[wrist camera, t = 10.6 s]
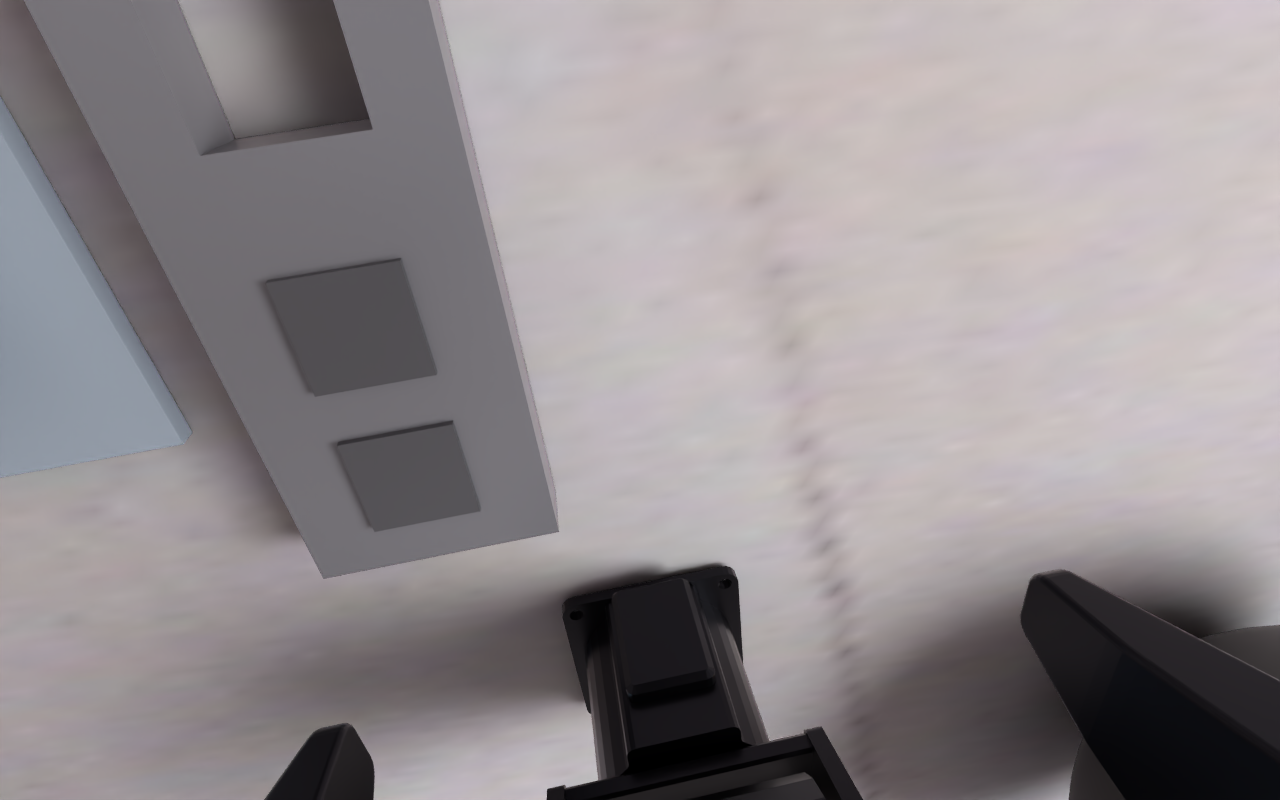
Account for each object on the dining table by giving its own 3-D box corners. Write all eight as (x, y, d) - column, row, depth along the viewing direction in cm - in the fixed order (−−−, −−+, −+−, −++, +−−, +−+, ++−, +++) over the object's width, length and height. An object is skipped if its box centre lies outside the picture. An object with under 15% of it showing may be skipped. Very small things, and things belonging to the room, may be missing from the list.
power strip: (555, 490, 22) (560, 549, 19) (338, 533, 21) (316, 599, 19) (238, -836, 9) (143, -1125, 7) (-304, -811, 9) (-606, -1113, 6)
